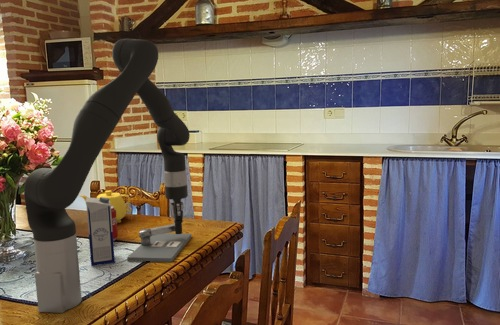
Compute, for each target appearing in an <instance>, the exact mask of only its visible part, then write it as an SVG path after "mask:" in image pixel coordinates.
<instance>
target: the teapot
mask: <svg viewBox="0 0 500 325" xmlns="http://www.w3.org/2000/svg"><path fill="white" fill-rule="evenodd" d="M78 197H81V198H82V199H83V200H84V202H85V203H86V197H88V196H87V195H82V194H79V195H78ZM100 197H105V198H108V199H109V201H110V204H111V206H113V207H114V209H115V210H116V218H117V224H118V223H122V219H123V218H124V217H125V216H126V214H127V213H129V214H130V213H131V212H132V207H130V206H129V205H130V203H131V198H130V196H129V194H121V193H119V192H113V190H111V189H110V190H105V191H104V192H103V193H100V194H98V195H97V196H96V198H98V199H100ZM124 197H125V198H126V199H127V202H125V200H124Z"/></svg>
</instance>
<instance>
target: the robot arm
mask: <svg viewBox="0 0 500 325" xmlns="http://www.w3.org/2000/svg"><path fill="white" fill-rule="evenodd" d="M111 55H112V56H111V57H112V61H113V62H114V65H115V66H116V68H117V70H118V71H119V72H120V73H119V74H118V76H117V77H115V78H114V79H113V80H111V81H109V82H108V83H106V84H105V85H103V86H102V87H100V88H99V89H98V90H96V91H95V92H94V93H92V94H91V95H90V96H89V97H88V98H87V99H86V101H85V102H84V103H83V105H82V107H81V109H80V110H79V111H78V114H77V115H76V117H75V119H74V121H73V122H74V123H73V126H72V133H71V139H70V144H69V147H68V148H67V150H66V152H65V154H64V155H63V157H62V158H61V159H60V161H59V163H57V165H56V166H55V167H54V168H49V167H41V168H40V167H39V168H38V169H35V170H33V171H32V172H30V173H29V175H28V176H27V177H26V179H25V183H24V188H23V197H24V204H25V211H26V217H27V221H28V227H29V228H30V230H31V231H32V235H33V247H34V255H35V256H34V257H35V268H36V269H35V270H36V272H35V273H34V281H35V290H36V300H37V310H38V311H37V312H39V313H59V314H63V313H64V312H65V311H67V310H70V309H72V308H75V307H77V306H78V305H79V304H80V303H81V302H82V299H83V298H82V288H81V287H82V285H81V276H80V265H79V254H78V253H79V250H78V240H77V228H76V223H75V221H74V220H73V218H72V217H70V215H69V214H68V212H67V210H66V209H67V208H68V207H70V206H71V205H72V204H73V203H74V202H75V201H76V199H77V198H78V197H79V195H80V193H81V190H82V188H83V187H84V184H85V181H86V180H87V177H88V175H89V173H90V171H91V169H92V167H93V165H94V163H95V161H96V160H97V158H98V156H99V155H100V153H101V151H102V150H103V147H104V146H105V144H106V143H107V142H108V139H109V138H110V136H111V134H112V133H113V132H114V130H115V128H116V127H117V125H118V124H119V122H120V120H121V119H122V116H123V115H124V113H125V111H126V110H127V108H128V107H129V105H130V104H131V102H132V101H133V99H134V97H135V96H136V94H137V95H138V97H139V98H140V100H141V101H142V103H143V105H144V106H145V108H146V109H147V110H148V113H149V114H150V117H151V119H152V120H153V122H154V124H155V125H156V126H157V127H158V129H157V132H156V139H157V143H158V145H159V148H160V151H161V154H162V157H163V166H164V176H163V178H164V179H163V180H164V196H165V198H166V199H167V200H169V201H170V200H172V202H170V207H171V215H172V218H173V222H174V223H175V231H174V232H175V233H174V234H183V222H184V220H183V217H184V208H185V206H184V203H183V201H182V200H183V199H186V198H187V197H188V196H189V194H188V193H189V191H188V175H187V170H186V167H187V166H186V156H185V154H184V153H182V152H179V151H176V150H175V149H174V148H173V146H174V147H176V146H178V147H180V146H186V145H187V144H188V143H189V140H190V137H191V136H190V131H189V128H188V126H187V124H186V123H185V122H184V121H183V120H182V119H181V118H180V117H179V116H178V114H176V113H175V110H174V109H173V107H172V104H171V103H170V100H169V99H168V97H167V95H166V94H165V93H164V92H163V91H162V90H161V89H160V88H159V87H158V86H157V85H155V83H154V82H153V81H152V80H151V79H150V78H149V77H150V76H151V75H152V73H153V72H154V71H155V68H156V66H157V64H158V60H159V50H158V47H157V45H156V44H155V43H153V42H152V41H150V40H147V39H141V38H137V39H136V38H120V39H118V40H117V41H116V42H114V45H113V47H112V51H111ZM174 223H173V224H174Z"/></svg>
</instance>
